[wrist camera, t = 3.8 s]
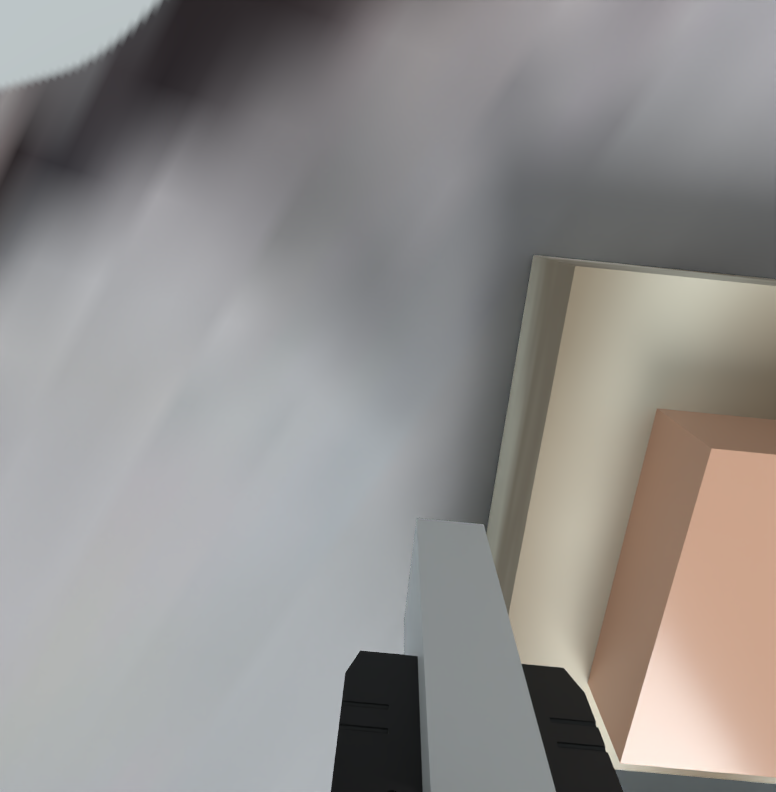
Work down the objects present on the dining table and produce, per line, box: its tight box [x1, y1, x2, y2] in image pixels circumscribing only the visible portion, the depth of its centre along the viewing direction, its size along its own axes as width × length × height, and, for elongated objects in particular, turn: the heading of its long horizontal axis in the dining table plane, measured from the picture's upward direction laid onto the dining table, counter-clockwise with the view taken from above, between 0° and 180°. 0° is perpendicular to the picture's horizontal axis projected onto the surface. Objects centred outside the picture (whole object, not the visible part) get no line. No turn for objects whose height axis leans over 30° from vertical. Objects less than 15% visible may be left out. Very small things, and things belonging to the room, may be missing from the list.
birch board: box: [486, 255, 776, 784], centre depth 16 cm, size 12×14×4 cm
